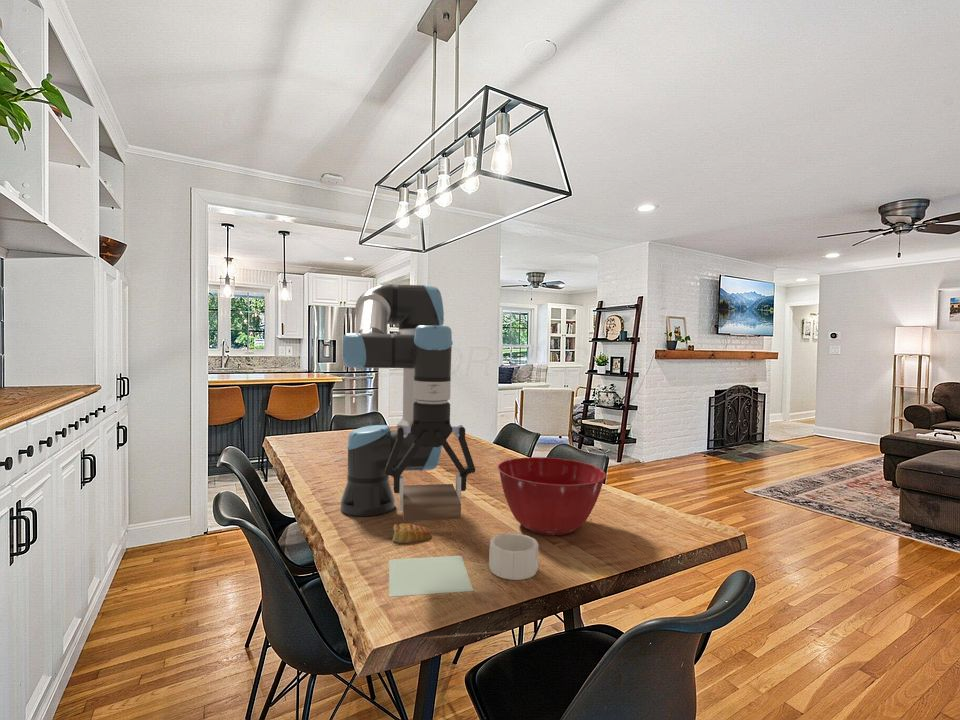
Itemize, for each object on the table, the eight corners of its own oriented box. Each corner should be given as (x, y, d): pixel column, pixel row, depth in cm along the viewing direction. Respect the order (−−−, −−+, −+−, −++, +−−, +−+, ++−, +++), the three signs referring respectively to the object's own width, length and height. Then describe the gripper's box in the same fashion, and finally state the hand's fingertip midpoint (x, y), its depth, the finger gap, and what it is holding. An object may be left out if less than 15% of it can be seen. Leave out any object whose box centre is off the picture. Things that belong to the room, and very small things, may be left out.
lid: (401, 499, 108) (402, 485, 107) (452, 497, 110) (452, 483, 109) (403, 521, 95) (403, 506, 95) (460, 519, 97) (460, 503, 97)
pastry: (428, 532, 126) (428, 518, 126) (432, 543, 119) (432, 528, 119) (390, 535, 124) (391, 520, 123) (392, 546, 117) (393, 530, 117)
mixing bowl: (580, 506, 149) (581, 455, 148) (623, 545, 120) (625, 482, 120) (487, 509, 144) (488, 456, 143) (509, 550, 116) (511, 485, 115)
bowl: (485, 561, 110) (486, 534, 109) (529, 558, 111) (530, 532, 111) (495, 583, 100) (495, 553, 100) (543, 580, 102) (543, 551, 101)
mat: (389, 561, 109) (389, 559, 109) (461, 556, 112) (461, 555, 112) (389, 598, 93) (389, 596, 93) (473, 592, 96) (473, 590, 96)
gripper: (372, 403, 95) (370, 516, 96) (492, 403, 99) (489, 511, 101) (373, 398, 103) (372, 503, 104) (484, 398, 107) (482, 499, 108)
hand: (429, 507), depth 102 cm, fingers closed on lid, 11 cm apart
